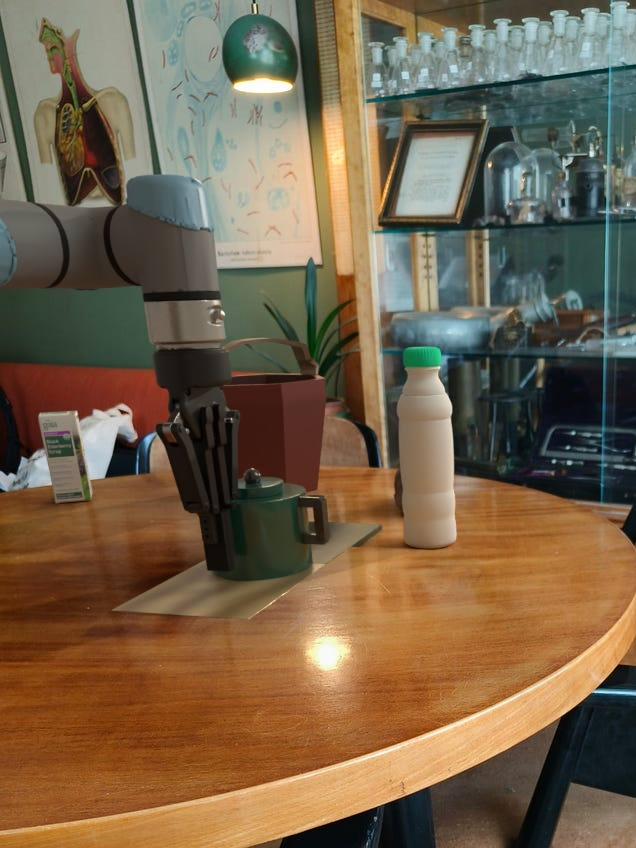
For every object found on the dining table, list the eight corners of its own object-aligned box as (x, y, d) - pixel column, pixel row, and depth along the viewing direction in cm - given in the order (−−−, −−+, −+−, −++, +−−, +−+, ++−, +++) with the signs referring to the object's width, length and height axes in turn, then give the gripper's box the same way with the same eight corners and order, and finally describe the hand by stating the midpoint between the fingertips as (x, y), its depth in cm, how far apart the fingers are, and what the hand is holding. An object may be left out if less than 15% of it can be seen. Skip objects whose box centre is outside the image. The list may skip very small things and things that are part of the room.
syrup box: (54, 504, 147) (36, 415, 142) (57, 497, 152) (40, 411, 147) (91, 500, 149) (75, 412, 144) (93, 494, 154) (77, 409, 149)
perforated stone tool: (398, 497, 145) (396, 455, 143) (430, 496, 146) (428, 454, 143) (392, 519, 131) (389, 472, 129) (428, 518, 132) (425, 471, 129)
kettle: (166, 576, 104) (150, 476, 100) (219, 549, 115) (206, 458, 111) (308, 584, 100) (298, 480, 95) (349, 555, 111) (342, 461, 106)
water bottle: (394, 547, 117) (382, 348, 108) (420, 534, 123) (411, 345, 114) (441, 552, 114) (433, 349, 105) (465, 538, 120) (459, 345, 111)
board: (111, 617, 94) (110, 610, 93) (279, 525, 130) (279, 520, 129) (249, 626, 90) (248, 619, 90) (382, 529, 126) (382, 524, 126)
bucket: (315, 471, 169) (302, 333, 160) (362, 491, 151) (351, 337, 142) (185, 487, 157) (164, 340, 148) (220, 510, 140) (198, 344, 130)
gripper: (187, 348, 83) (221, 587, 91) (253, 342, 95) (278, 555, 103) (118, 350, 85) (158, 584, 93) (191, 344, 97) (221, 553, 105)
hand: (221, 569), depth 98 cm, fingers closed
